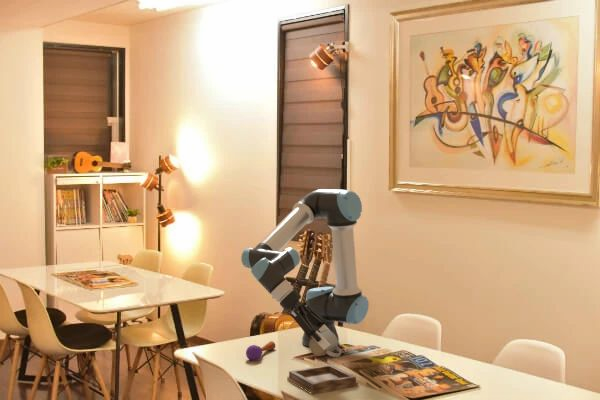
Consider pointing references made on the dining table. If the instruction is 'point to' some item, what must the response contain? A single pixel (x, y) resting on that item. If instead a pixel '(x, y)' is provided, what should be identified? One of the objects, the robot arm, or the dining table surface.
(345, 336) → the dining table surface
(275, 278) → the robot arm
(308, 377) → the brown wooden tray
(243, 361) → the dining table surface
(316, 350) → the ceramic mug
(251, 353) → the purple maraca
